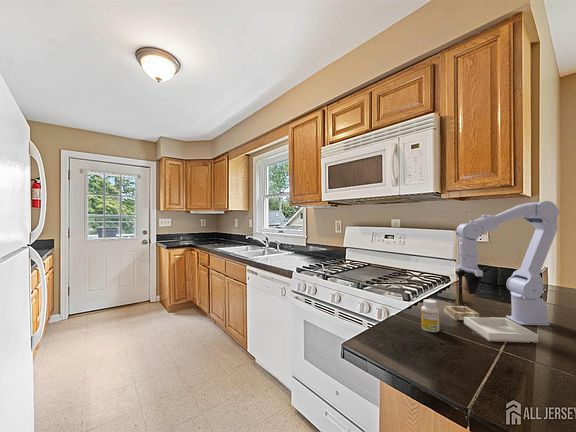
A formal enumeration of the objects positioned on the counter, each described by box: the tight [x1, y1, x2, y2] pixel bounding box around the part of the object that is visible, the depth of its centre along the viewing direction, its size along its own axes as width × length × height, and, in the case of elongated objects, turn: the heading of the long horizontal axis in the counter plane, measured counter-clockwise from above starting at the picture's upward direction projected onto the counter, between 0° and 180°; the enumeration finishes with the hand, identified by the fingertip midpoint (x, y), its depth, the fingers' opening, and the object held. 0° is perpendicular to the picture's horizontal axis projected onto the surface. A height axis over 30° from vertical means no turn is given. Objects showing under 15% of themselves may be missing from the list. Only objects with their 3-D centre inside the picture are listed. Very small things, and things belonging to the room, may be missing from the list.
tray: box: [463, 316, 539, 344], centre depth 90 cm, size 14×14×2 cm
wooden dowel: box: [461, 276, 476, 304], centre depth 102 cm, size 4×4×9 cm
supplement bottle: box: [420, 298, 440, 333], centre depth 93 cm, size 5×5×10 cm
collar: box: [443, 305, 480, 321], centre depth 105 cm, size 8×8×2 cm
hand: (468, 291), depth 102 cm, fingers closed on wooden dowel, 4 cm apart
